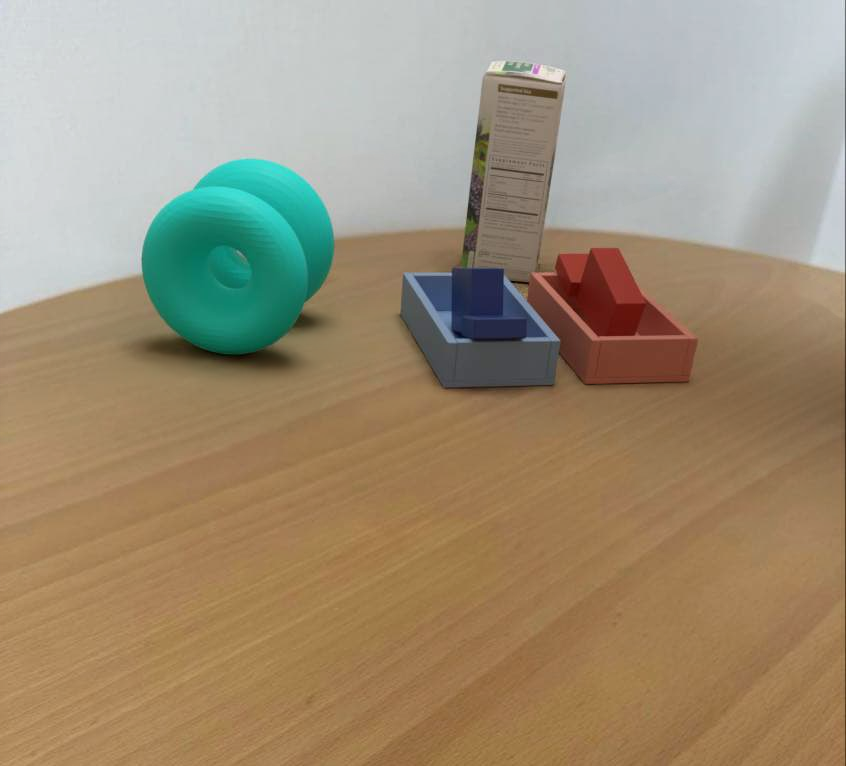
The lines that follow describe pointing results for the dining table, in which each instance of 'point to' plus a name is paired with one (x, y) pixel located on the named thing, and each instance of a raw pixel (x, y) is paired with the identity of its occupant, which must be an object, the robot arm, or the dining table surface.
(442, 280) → the blue bin
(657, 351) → the red bin
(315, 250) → the turquoise yo-yo
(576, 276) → the two-tier red step
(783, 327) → the dining table surface
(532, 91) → the syrup box
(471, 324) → the dark blue l-shaped piece
